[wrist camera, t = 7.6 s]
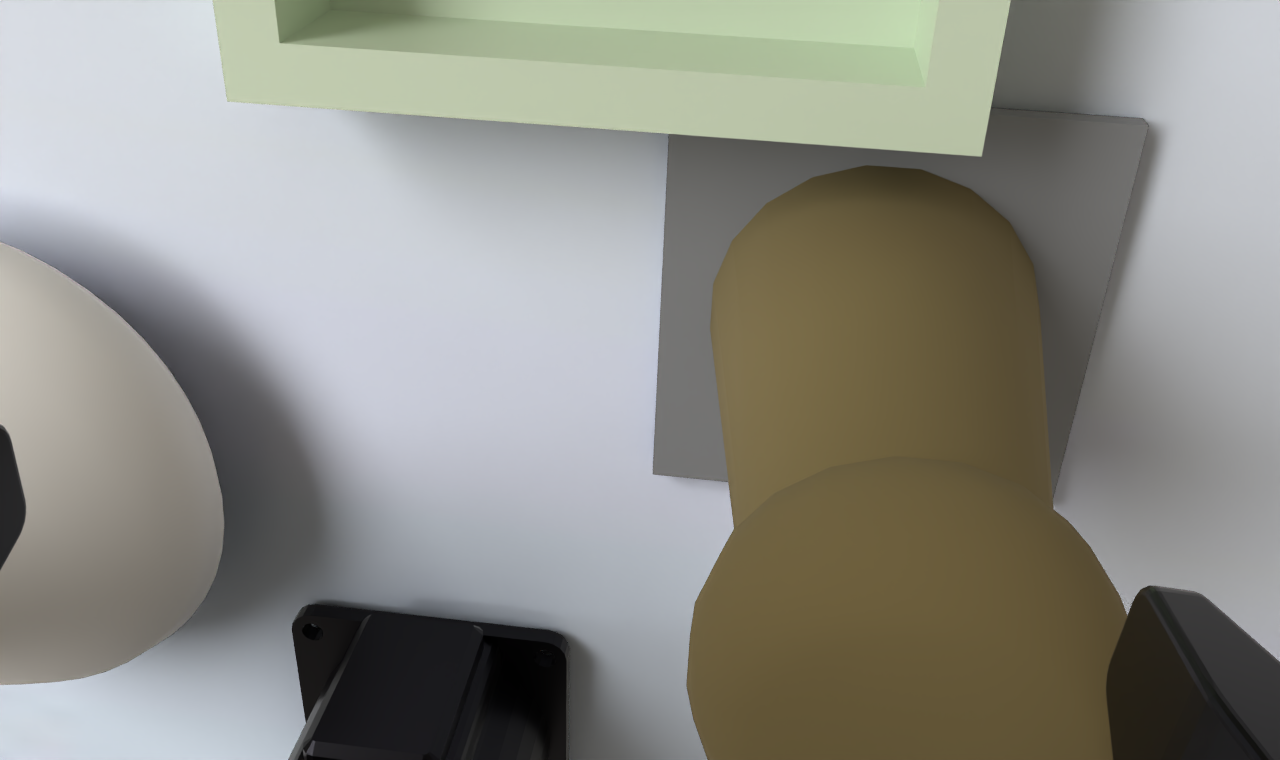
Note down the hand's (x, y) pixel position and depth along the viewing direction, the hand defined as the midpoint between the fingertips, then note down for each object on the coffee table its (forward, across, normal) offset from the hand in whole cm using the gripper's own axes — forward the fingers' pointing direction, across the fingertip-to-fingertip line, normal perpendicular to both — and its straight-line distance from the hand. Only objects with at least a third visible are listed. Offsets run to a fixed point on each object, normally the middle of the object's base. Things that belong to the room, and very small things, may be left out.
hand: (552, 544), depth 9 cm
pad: (+13, -4, +4) cm, 14 cm away
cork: (+13, -4, +4) cm, 14 cm away
